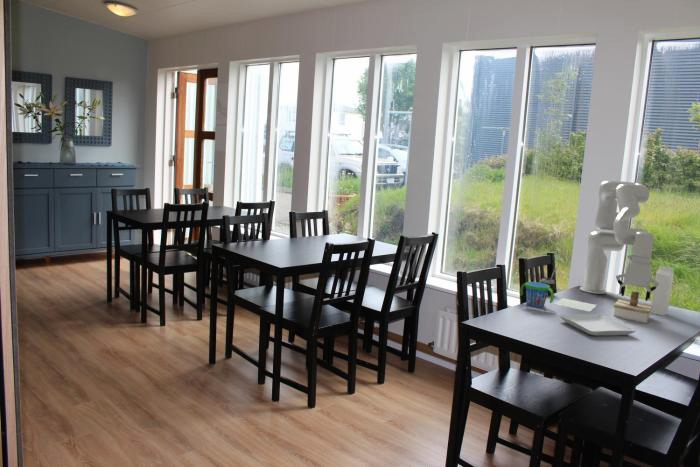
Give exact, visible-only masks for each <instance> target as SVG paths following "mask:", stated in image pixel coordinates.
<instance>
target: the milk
mask: <svg viewBox="0 0 700 467" xmlns="http://www.w3.org/2000/svg"><path fill="white" fill-rule="evenodd" d="M674 276H675V274H674V268H673V267H670V266H663V265H659V266H658V270H657V271H656V273H655V279H654V280H655V281H657V282H658V283H659V285H658V287H657V288H656V289H655V290H653V291H652V297H651V303H650V305H652V306H653V307H652V309H651V312H650V314H653V315H657V316H662V317H664V316H666V315H668V312H669V306H670V300H671V294H672V288H673V282H674ZM654 285H655V284H654V283H653V286H654Z"/></svg>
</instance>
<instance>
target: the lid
mask: <svg viewBox="0 0 700 467" xmlns="http://www.w3.org/2000/svg"><path fill="white" fill-rule="evenodd" d="M639 296H640V292H638V291H634V290H632V291H631V293H630V300H625V299H619V298H618V299H617V301H616V302H614V304H613V308H615V307H616V308H621V309H626V310H631V311H636V312H641V313H646V314H649V313H650V311H651V309H652V307H653V306H652V305H651V304H645V303H641V302H639ZM650 314H651V313H650Z"/></svg>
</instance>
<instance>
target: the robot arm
mask: <svg viewBox="0 0 700 467" xmlns="http://www.w3.org/2000/svg"><path fill="white" fill-rule="evenodd" d="M649 198H650V191H649V188H648V187H647V186H646V185H644V184H642V183H641V184H640V183H637V182H631V181H630V182H629V181H620V180H604V181H602V182H601V183H600V185H599V187H598V199H599V201H598V206H597V212H596V215H595V221H594V225H595V228H597V229H598V230H596V231H592V232H590V233H589V235H588V238H587V250H588V251H587V257H586V265H585V272H584V279H583V285H582V286H579V290H580V291H583V292H586V293H588V294H589V293H590V294H594V295H595V294H596V295H603V294H606V293H607V292H606V289H604V283H605V278H606V270H607V263H608V258H607V255H606V254H605V252H604V251H610V252H620V251H622V250H623V249H624V247H625V246H632V250H631V255H629V254H628V255H627V259H629V261H628V262H627V265H626V268H625V272H624V273H621V274H618V275H616V276H615V278H616V281H617V283H618V284H619V286H620V291H619V293H620V294H621V297H624V296H625V292H626V285H629V286H635V287H640V288H645V289H646V293H645V301H646V302H647V301H648V300H650V299H651V293H652V292H653V290H655V289H656V288H657V287H658V285H659V283H658V282H657V281H655V279H654V278H652V264H651V259H652V258H651V257H652V252H653V246H654V240H655V235H654V234H653V233H652V232H649V231H648V230H646V229H642V228H641V229H640V228H629V226H630V220H631V219H633V218H635V217H637V216H638V215H639V214H640V213H641V208H640V204H643V203H644V204H645V203H647V201H648V200H649ZM617 208H618V210H619V211H617ZM600 230H601V231H600ZM611 231H612V232H611ZM621 278H624V279H623V281H622V280H621ZM651 283H653V286H652V287H651V286H650V285H651ZM654 284H655V285H654Z"/></svg>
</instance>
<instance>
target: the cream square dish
mask: <svg viewBox="0 0 700 467" xmlns="http://www.w3.org/2000/svg"><path fill="white" fill-rule="evenodd" d="M650 312H651V311H650ZM613 316H614V317H618V318H623V320H626V321H630V322H636V323H640V324H645V325H646V324H647V323H648V321H649V320H650V316H651V313H649V314H646V313H641V312H636V311H631V310H626V309H621V308H616V307H614V311H613Z"/></svg>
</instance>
